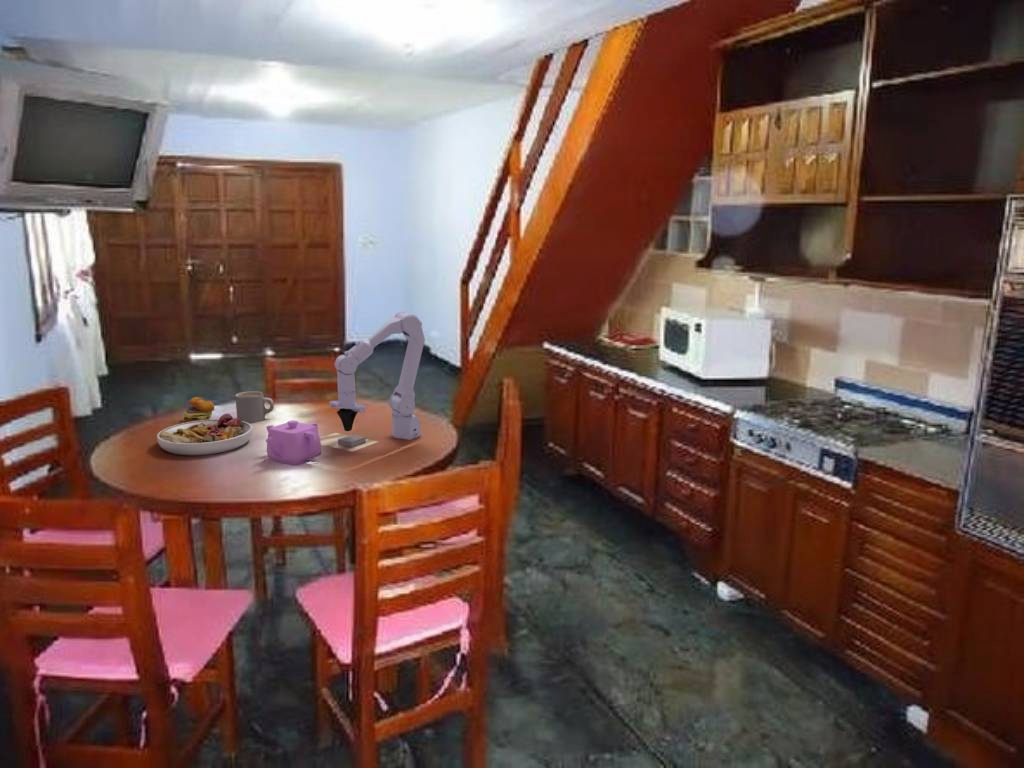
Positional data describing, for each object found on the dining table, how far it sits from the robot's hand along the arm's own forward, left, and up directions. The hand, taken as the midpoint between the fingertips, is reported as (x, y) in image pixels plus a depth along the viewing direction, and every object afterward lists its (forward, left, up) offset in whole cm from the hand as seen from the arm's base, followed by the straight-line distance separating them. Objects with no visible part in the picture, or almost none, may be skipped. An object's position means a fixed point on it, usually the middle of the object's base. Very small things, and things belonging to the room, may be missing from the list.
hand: (348, 430), depth 251 cm
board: (+2, 0, -6) cm, 6 cm away
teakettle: (+6, +19, -6) cm, 21 cm away
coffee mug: (+54, -6, -6) cm, 54 cm away
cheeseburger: (+71, +6, -6) cm, 71 cm away
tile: (+2, 0, -3) cm, 4 cm away
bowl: (+42, +24, -6) cm, 49 cm away
